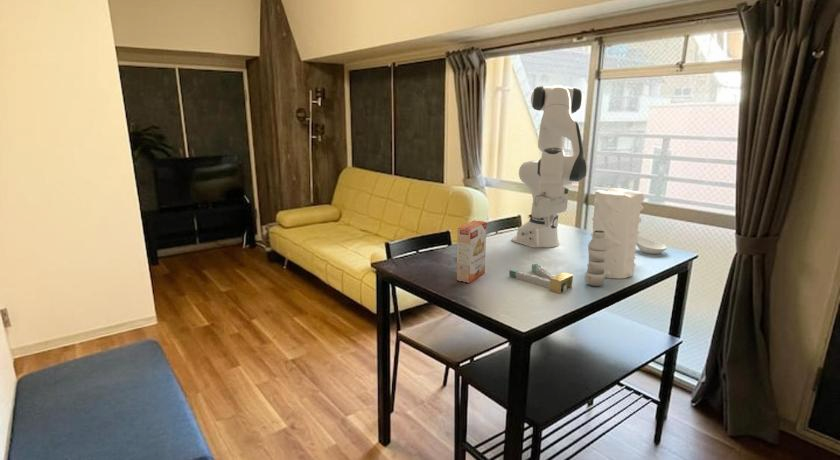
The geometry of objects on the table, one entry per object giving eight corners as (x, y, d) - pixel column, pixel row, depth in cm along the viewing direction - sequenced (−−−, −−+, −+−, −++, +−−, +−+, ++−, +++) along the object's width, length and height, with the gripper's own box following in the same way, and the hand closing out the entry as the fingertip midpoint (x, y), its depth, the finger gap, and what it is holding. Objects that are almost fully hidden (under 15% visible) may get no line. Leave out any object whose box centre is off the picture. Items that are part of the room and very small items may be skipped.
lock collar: (572, 287, 164) (572, 274, 163) (559, 293, 158) (560, 281, 157) (561, 284, 167) (562, 272, 165) (549, 290, 161) (550, 278, 160)
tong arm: (557, 284, 166) (557, 277, 166) (551, 284, 166) (552, 278, 165) (536, 270, 181) (536, 263, 181) (531, 270, 181) (532, 264, 180)
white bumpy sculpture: (578, 268, 183) (584, 189, 175) (609, 262, 189) (616, 186, 181) (611, 282, 168) (619, 196, 160) (643, 275, 174) (653, 192, 166)
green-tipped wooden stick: (568, 290, 161) (569, 282, 161) (563, 292, 159) (563, 285, 158) (514, 274, 178) (514, 267, 177) (509, 276, 175) (509, 269, 175)
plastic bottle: (581, 282, 169) (585, 229, 163) (599, 281, 169) (603, 228, 164) (589, 288, 162) (593, 234, 157) (607, 287, 163) (612, 233, 158)
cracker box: (470, 284, 168) (471, 229, 163) (456, 281, 171) (456, 227, 166) (486, 272, 180) (487, 221, 174) (472, 270, 183) (473, 219, 178)
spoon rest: (669, 252, 202) (671, 236, 200) (660, 258, 194) (662, 242, 192) (616, 242, 218) (617, 227, 216) (605, 247, 210) (606, 232, 208)
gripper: (542, 195, 166) (540, 232, 170) (571, 188, 180) (569, 223, 183) (528, 193, 171) (526, 229, 174) (557, 187, 184) (555, 220, 188)
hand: (548, 226), depth 179 cm, fingers closed
